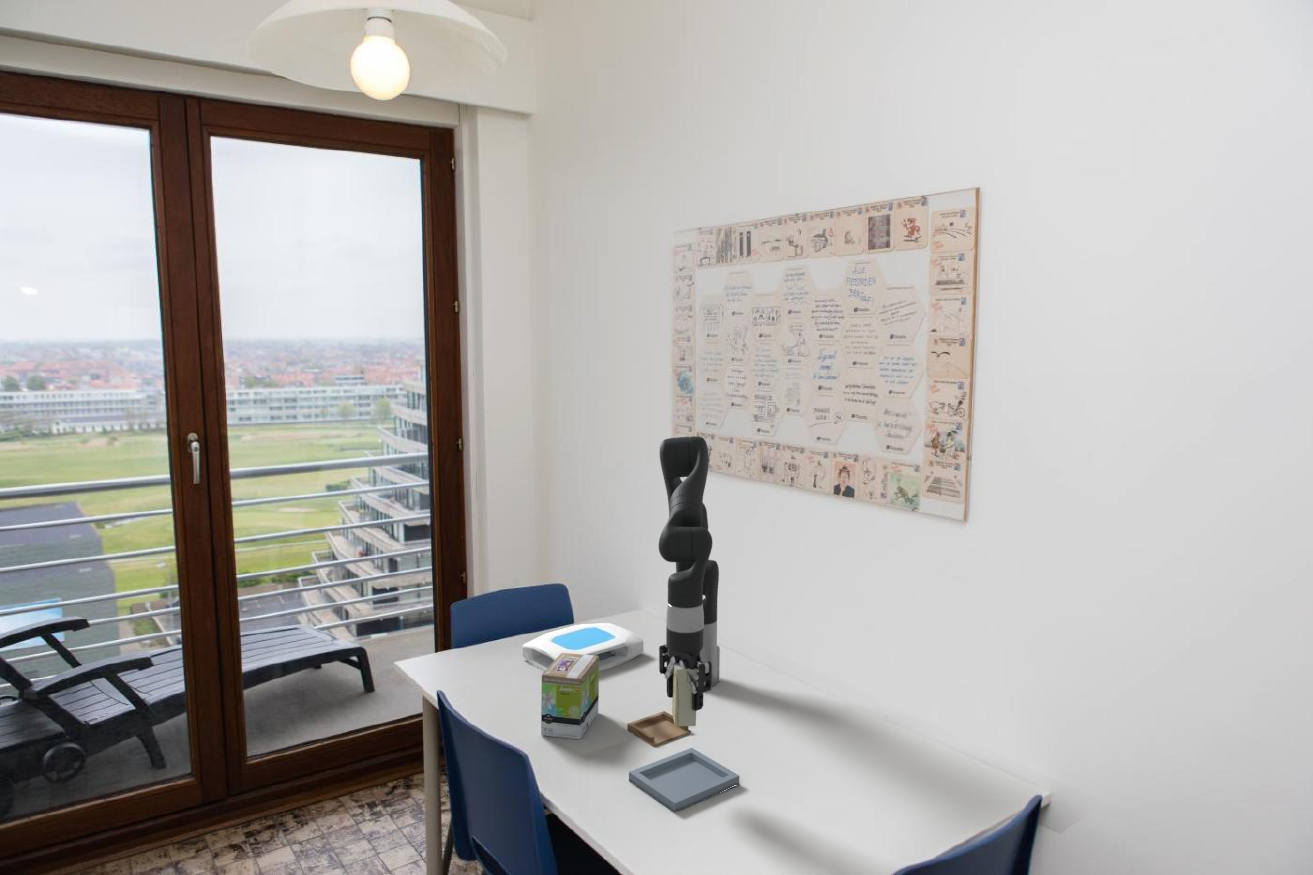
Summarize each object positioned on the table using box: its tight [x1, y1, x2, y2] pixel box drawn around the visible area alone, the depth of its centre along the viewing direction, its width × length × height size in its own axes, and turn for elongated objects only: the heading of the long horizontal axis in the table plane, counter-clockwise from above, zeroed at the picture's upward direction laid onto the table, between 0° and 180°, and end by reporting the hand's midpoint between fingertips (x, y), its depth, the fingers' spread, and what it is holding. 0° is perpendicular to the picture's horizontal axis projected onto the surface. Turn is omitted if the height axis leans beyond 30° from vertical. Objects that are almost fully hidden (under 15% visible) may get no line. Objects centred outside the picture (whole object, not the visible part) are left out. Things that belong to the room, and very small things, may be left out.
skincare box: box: [671, 663, 697, 727], centre depth 172 cm, size 6×4×12 cm
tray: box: [628, 747, 740, 814], centre depth 174 cm, size 17×15×2 cm
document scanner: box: [522, 622, 644, 672], centre depth 241 cm, size 21×28×6 cm
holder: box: [626, 711, 692, 748], centre depth 196 cm, size 11×10×2 cm
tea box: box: [540, 653, 600, 740], centre depth 200 cm, size 15×10×15 cm
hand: (684, 702), depth 172 cm, fingers closed on skincare box, 7 cm apart
